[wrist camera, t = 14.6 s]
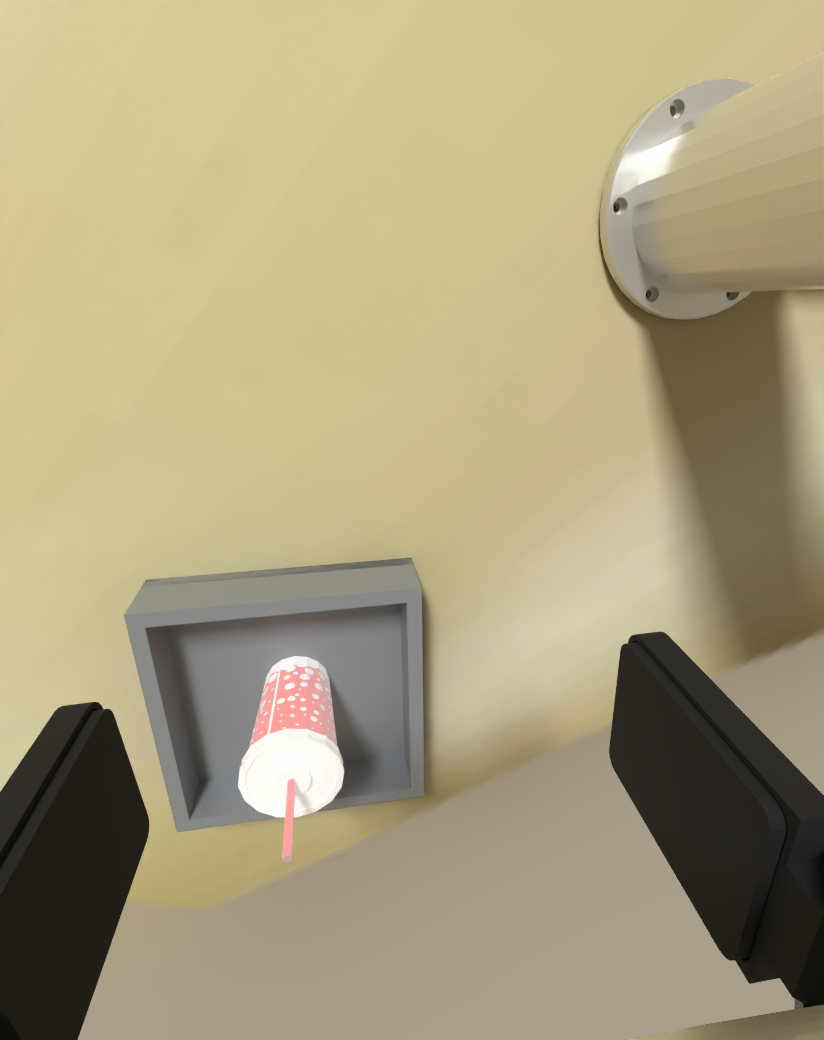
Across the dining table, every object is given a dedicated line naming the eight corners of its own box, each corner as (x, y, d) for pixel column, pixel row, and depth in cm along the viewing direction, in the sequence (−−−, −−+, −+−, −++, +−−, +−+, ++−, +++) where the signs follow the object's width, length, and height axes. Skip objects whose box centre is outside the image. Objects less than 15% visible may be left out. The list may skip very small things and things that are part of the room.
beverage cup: (280, 727, 41) (262, 917, 29) (238, 669, 39) (198, 848, 26) (353, 694, 41) (368, 869, 28) (315, 633, 39) (313, 794, 26)
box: (410, 558, 39) (421, 587, 35) (414, 752, 46) (424, 796, 42) (146, 580, 37) (124, 615, 32) (190, 782, 43) (177, 832, 39)
